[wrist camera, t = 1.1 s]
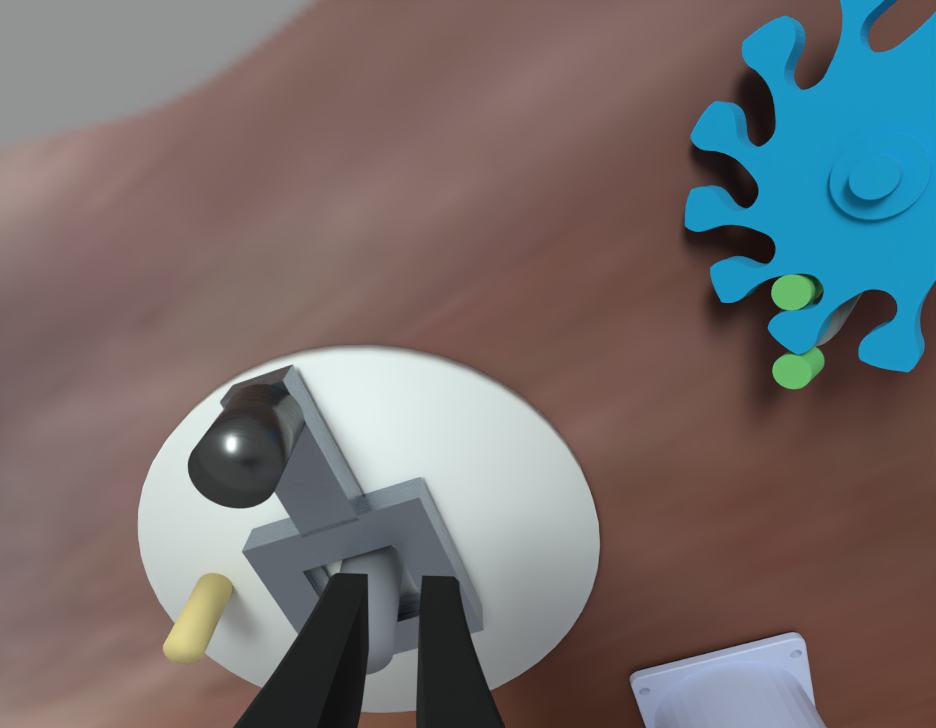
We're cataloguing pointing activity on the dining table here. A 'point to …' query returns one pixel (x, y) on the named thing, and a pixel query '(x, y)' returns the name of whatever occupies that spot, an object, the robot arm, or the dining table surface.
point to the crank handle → (316, 502)
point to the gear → (834, 189)
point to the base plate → (461, 510)
